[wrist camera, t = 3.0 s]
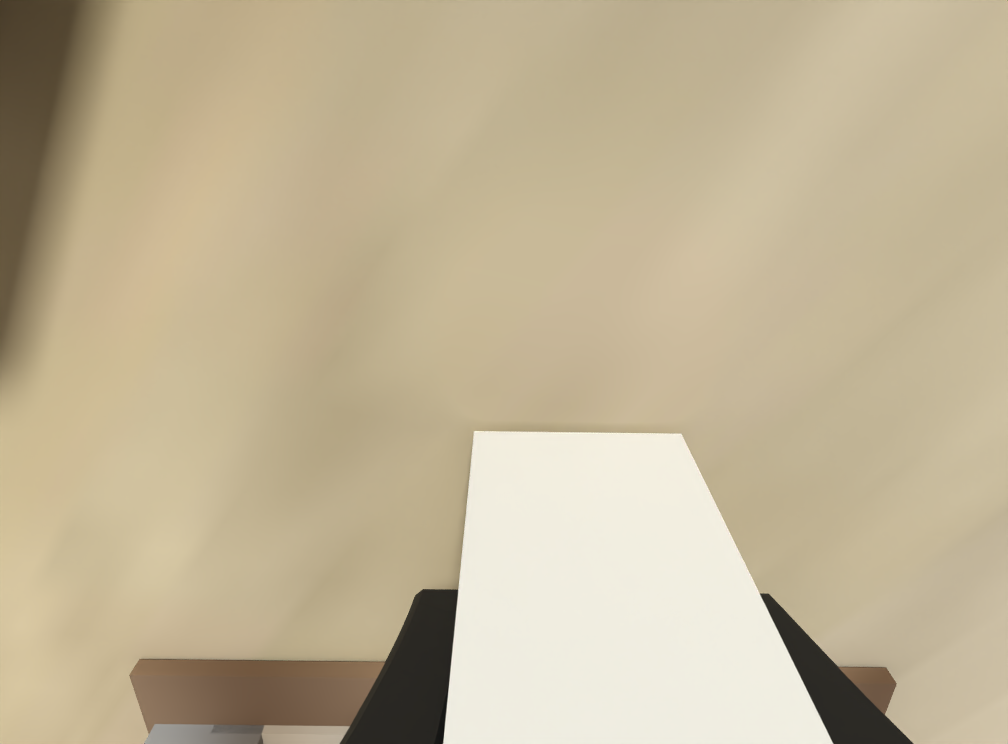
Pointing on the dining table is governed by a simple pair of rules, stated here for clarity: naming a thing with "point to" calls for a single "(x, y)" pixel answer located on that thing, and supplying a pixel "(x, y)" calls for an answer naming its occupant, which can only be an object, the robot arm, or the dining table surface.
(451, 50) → the dining table surface
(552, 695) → the long rectangular beam
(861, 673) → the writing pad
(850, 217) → the dining table surface
